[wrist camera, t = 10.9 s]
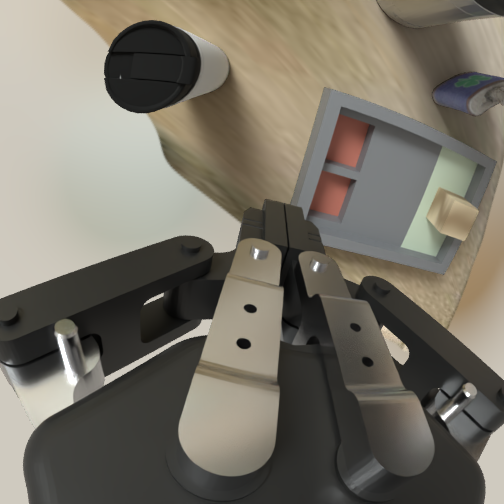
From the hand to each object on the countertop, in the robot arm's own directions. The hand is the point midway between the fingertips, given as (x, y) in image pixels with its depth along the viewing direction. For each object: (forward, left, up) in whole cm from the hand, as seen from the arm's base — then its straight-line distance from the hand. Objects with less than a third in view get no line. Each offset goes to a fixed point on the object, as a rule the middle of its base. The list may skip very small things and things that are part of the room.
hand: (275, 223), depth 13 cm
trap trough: (+3, +17, -27) cm, 32 cm away
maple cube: (+3, +25, -24) cm, 35 cm away
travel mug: (-5, -9, -27) cm, 29 cm away
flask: (-13, +22, -27) cm, 37 cm away
